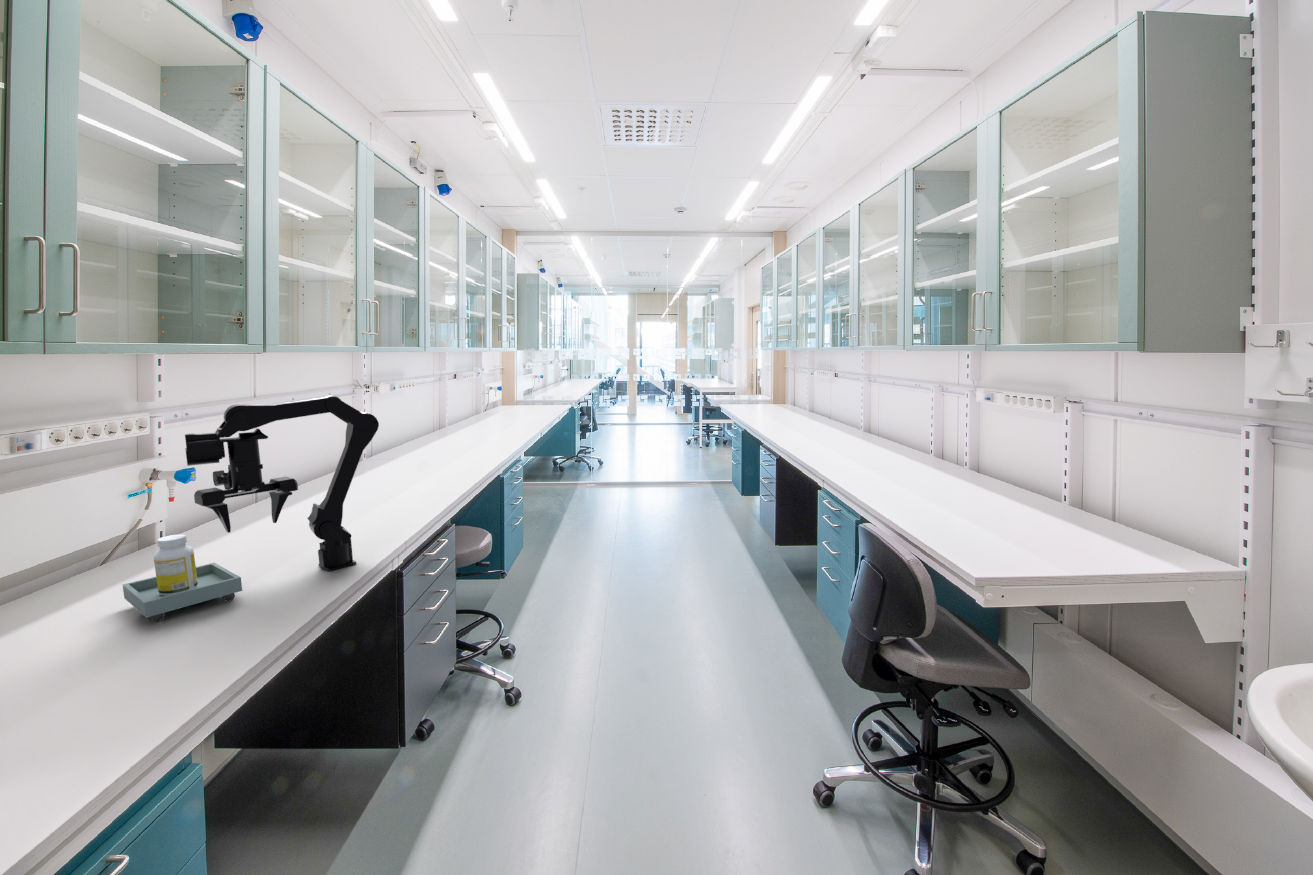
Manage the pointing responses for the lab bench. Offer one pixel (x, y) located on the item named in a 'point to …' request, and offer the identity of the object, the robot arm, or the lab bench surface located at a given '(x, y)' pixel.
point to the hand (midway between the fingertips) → (252, 527)
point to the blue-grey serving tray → (210, 586)
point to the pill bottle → (175, 565)
